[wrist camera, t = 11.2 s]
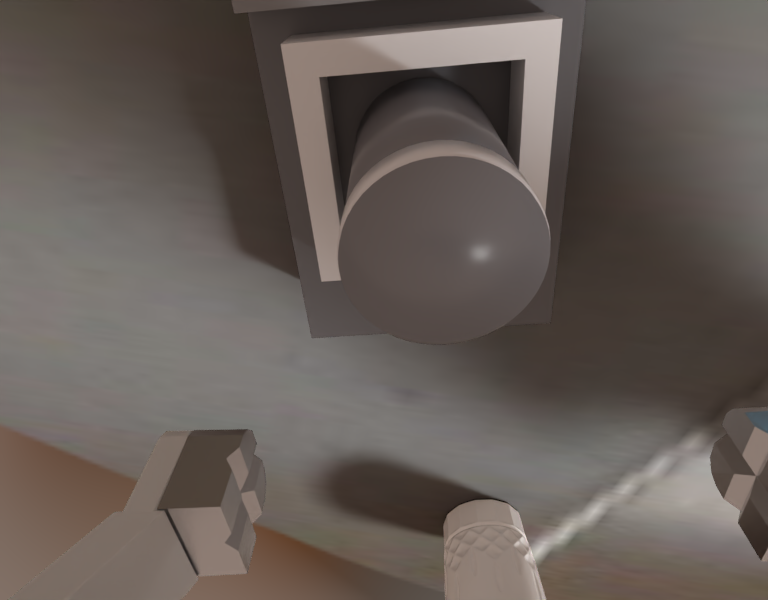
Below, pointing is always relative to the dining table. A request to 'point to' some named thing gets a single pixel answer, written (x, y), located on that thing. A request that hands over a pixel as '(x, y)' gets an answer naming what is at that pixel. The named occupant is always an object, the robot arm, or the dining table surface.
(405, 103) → the lens
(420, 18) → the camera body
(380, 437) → the dining table surface
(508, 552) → the white cup
